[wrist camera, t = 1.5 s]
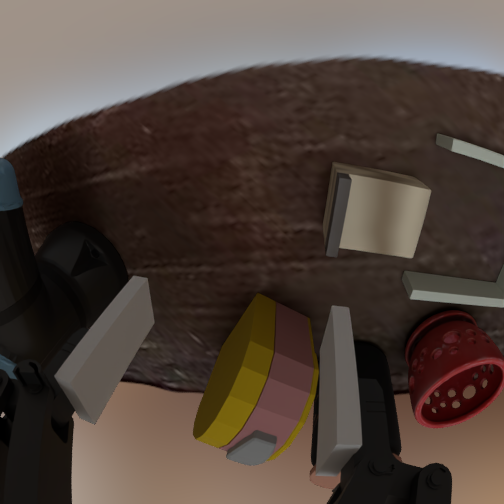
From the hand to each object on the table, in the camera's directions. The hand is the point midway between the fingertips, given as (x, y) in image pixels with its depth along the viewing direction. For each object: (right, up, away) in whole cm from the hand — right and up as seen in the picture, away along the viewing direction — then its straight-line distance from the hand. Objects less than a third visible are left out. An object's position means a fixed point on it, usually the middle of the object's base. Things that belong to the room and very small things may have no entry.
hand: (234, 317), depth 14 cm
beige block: (+13, +8, +17) cm, 23 cm away
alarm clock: (+3, -8, +27) cm, 29 cm away
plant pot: (+27, -9, +23) cm, 37 cm away
